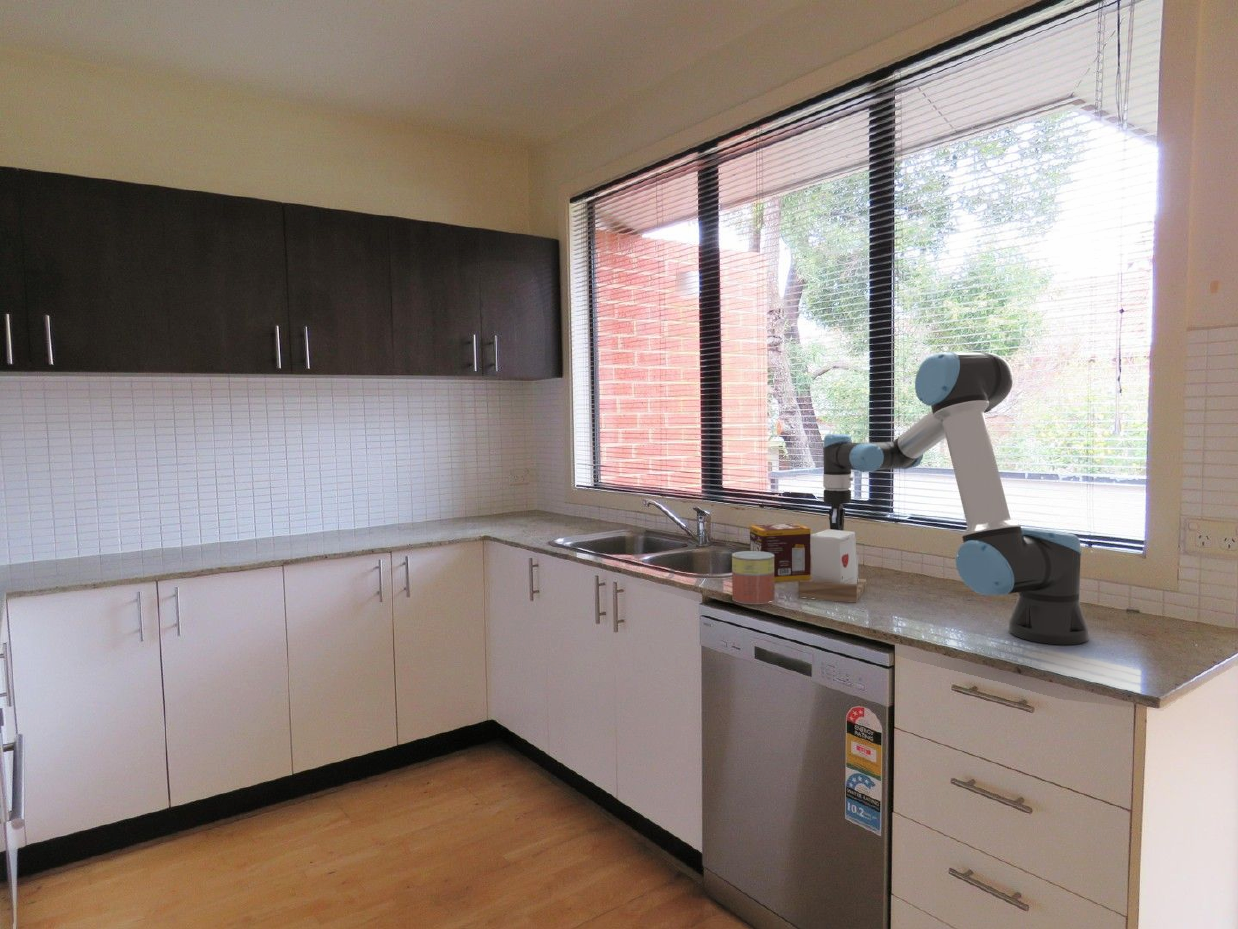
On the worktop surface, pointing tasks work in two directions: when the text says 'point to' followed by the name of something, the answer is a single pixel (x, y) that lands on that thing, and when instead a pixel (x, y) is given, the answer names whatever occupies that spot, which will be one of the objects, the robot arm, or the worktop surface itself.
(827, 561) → the supplement box
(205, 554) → the worktop surface
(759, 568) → the canned food
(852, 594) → the shelf board
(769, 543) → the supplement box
